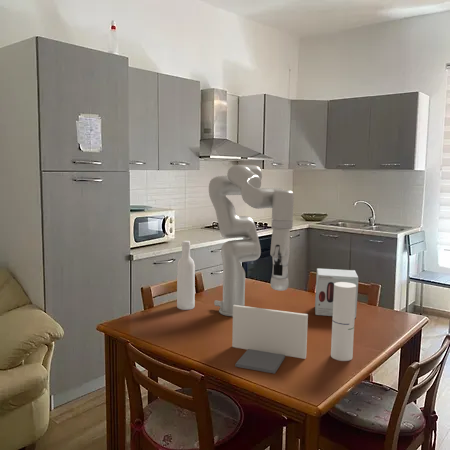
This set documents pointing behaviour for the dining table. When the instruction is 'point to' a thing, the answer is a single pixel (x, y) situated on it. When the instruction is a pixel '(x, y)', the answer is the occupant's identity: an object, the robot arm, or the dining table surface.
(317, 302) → the supplement box
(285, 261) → the plastic bottle
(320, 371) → the dining table surface
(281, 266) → the robot arm
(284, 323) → the screen
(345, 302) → the cylindrical container
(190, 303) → the bottle
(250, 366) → the mat
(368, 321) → the dining table surface
